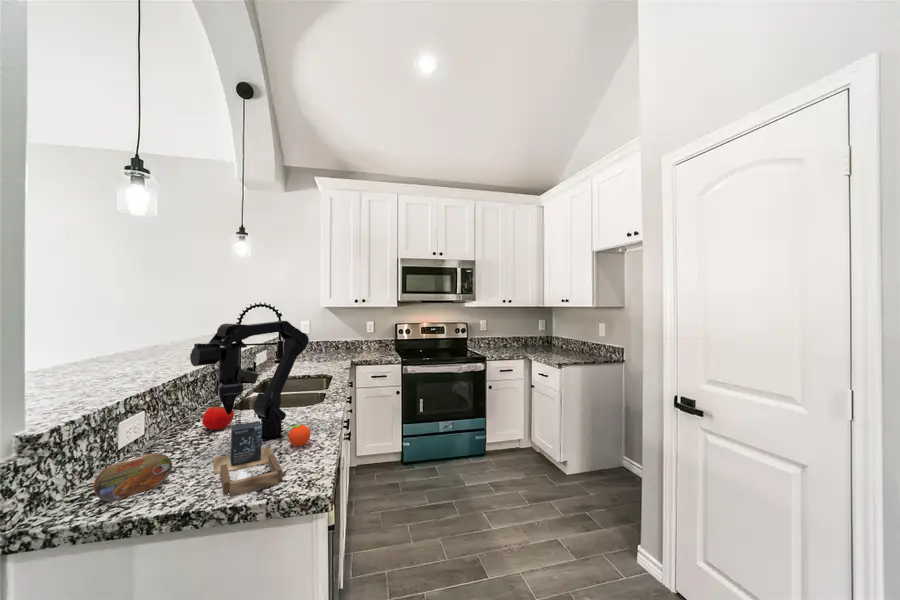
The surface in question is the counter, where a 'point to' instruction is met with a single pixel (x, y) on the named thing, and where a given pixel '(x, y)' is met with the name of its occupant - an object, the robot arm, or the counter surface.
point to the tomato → (217, 418)
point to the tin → (132, 476)
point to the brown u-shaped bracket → (251, 479)
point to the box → (246, 443)
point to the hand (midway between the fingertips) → (227, 410)
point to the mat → (226, 460)
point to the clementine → (299, 435)
